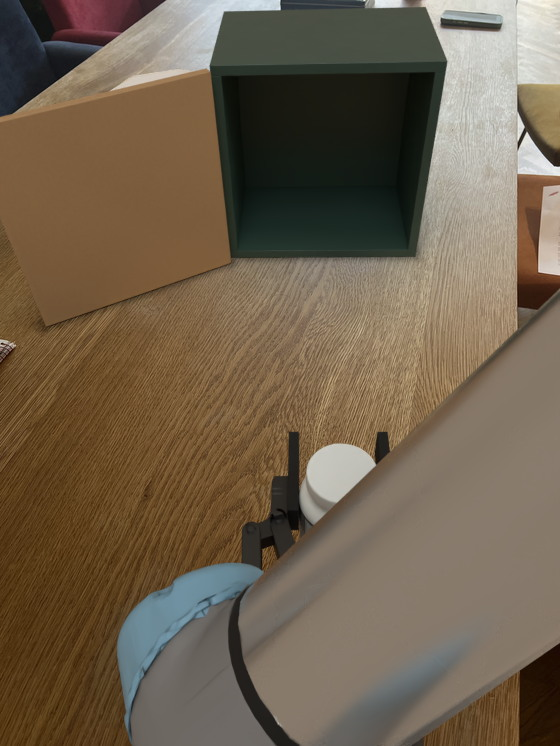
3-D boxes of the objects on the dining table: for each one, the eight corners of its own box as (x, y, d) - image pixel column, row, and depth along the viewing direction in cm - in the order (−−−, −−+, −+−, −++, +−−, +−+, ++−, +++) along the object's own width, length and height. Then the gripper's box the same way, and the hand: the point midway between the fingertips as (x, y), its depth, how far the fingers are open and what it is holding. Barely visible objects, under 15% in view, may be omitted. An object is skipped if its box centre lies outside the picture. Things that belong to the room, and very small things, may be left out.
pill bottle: (355, 594, 44) (364, 527, 37) (286, 558, 46) (281, 488, 39) (386, 530, 47) (400, 457, 40) (320, 499, 49) (322, 424, 42)
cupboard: (415, 256, 87) (447, 60, 67) (230, 257, 88) (209, 65, 68) (401, 189, 99) (426, 6, 79) (239, 190, 100) (223, 11, 81)
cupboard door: (33, 296, 83) (-48, 104, 64) (211, 237, 91) (186, 51, 72) (46, 327, 79) (-38, 130, 60) (231, 262, 87) (210, 71, 68)
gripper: (178, 829, 33) (218, 470, 49) (528, 838, 33) (455, 470, 48) (152, 809, 28) (206, 411, 43) (573, 819, 27) (474, 410, 43)
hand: (337, 443), depth 46 cm, fingers closed on pill bottle, 6 cm apart
